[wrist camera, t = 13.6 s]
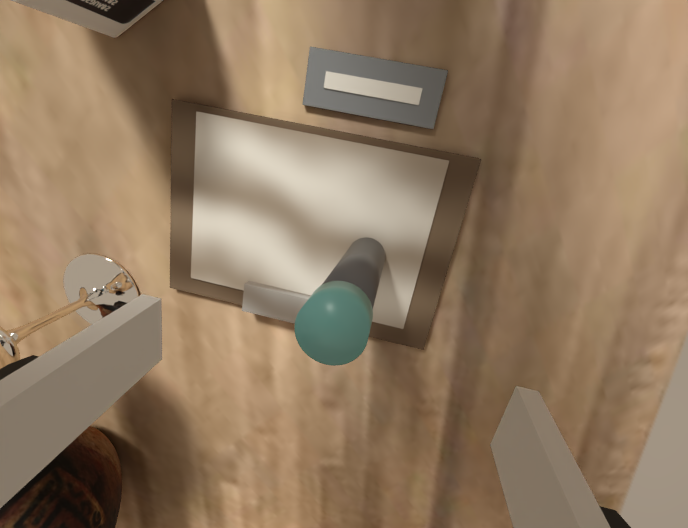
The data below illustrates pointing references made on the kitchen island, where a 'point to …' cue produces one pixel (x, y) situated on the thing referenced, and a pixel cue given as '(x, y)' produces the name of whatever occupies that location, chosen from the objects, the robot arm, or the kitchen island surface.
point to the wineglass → (78, 298)
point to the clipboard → (310, 214)
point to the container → (96, 12)
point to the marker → (342, 306)
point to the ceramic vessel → (71, 489)
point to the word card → (374, 87)
